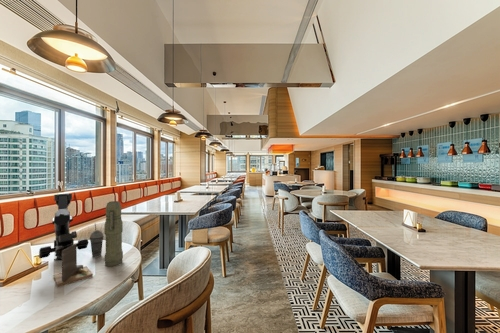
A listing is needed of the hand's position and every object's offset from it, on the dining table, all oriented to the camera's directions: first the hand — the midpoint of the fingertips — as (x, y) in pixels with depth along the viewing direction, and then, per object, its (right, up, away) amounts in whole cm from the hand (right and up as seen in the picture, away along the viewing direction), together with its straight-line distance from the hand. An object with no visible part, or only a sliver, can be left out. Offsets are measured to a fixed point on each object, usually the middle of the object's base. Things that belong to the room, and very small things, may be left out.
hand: (67, 263), depth 110 cm
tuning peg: (+4, -6, +2) cm, 7 cm away
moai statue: (+12, -8, +19) cm, 23 cm away
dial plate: (+1, -8, +3) cm, 8 cm away
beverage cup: (-6, -8, +30) cm, 32 cm away
